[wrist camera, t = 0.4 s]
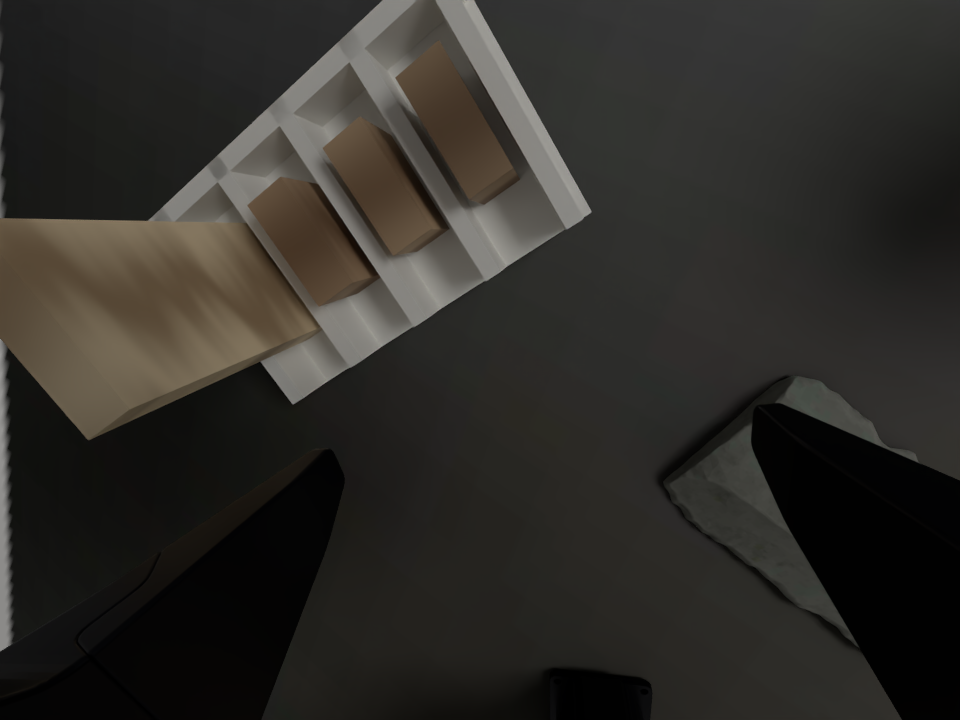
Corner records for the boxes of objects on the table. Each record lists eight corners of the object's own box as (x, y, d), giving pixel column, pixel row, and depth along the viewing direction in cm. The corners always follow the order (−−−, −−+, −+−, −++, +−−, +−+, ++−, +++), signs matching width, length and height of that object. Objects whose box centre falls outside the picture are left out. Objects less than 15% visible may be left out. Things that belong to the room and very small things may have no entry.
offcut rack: (590, 212, 20) (597, 209, 17) (305, 395, 26) (271, 418, 23) (464, -13, 19) (447, -61, 15) (186, 235, 24) (131, 236, 21)
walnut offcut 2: (449, 228, 21) (430, 228, 18) (417, 251, 21) (393, 255, 18) (391, 134, 20) (359, 116, 17) (358, 161, 21) (322, 147, 17)
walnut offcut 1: (386, 273, 22) (352, 282, 18) (357, 293, 23) (318, 306, 19) (328, 185, 21) (280, 176, 17) (299, 209, 22) (247, 205, 18)
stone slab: (774, 352, 22) (645, 488, 24) (810, 363, 20) (662, 515, 22) (1075, 590, 24) (930, 701, 26) (1146, 631, 21) (979, 751, 23)
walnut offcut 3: (520, 179, 20) (513, 167, 16) (484, 204, 20) (469, 199, 16) (461, 77, 19) (439, 39, 15) (425, 106, 19) (394, 77, 16)
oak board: (335, 321, 23) (129, 409, 12) (308, 339, 24) (88, 440, 12) (266, 223, 22) (-31, 217, 11) (240, 244, 23) (-67, 261, 11)
